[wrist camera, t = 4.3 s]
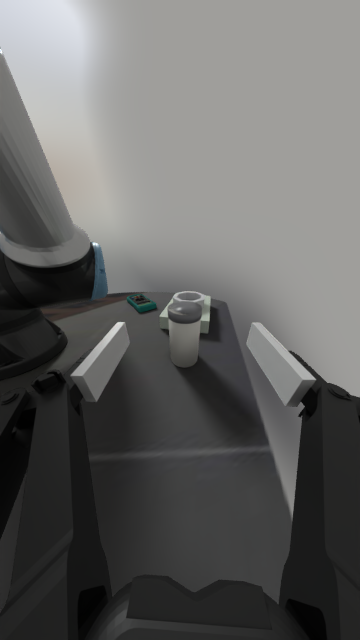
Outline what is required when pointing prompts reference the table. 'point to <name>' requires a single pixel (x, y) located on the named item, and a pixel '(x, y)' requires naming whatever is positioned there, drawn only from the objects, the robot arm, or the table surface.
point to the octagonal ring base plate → (191, 297)
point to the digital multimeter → (141, 303)
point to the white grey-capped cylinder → (184, 332)
